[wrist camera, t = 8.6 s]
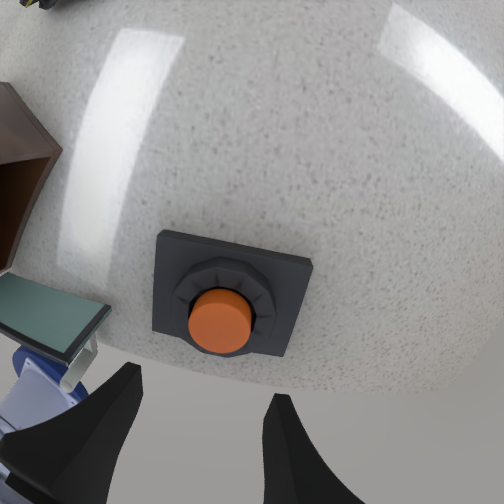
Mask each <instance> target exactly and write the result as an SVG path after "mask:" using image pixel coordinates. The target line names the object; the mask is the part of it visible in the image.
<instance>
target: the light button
mask: <svg viewBox="0 0 504 504" xmlns="http://www.w3.org/2000/svg"><path fill="white" fill-rule="evenodd" d="M188 327H189V332H190V334H191V336H192V338H193V339H194V341H195V342H196V343H197V344H198V345H200V346H201V347H203V348H204V349H206V350H209V351H212V352H216V353H229V352H233V351H236V350H238V349H240V348H241V347H242V346H243V345H244V344H245V343H246V342H247V341H248V339H249V336H250V331H251V310H250V307H249V305H248V303H247V302H246V300H245V299H244V298H243V297H242V296H240V295H239V294H237V293H235V292H233V291H231V290H227V289H214V290H210V291H207V292H205V293H204V294H202V295H201V296H200V297H199V298H198V299H197V301H196V303H195V305H194V308H193V310H192V313H191V315H190V318H189V322H188Z"/></svg>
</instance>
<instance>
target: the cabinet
mask: <svg viewBox="0 0 504 504" xmlns="http://www.w3.org/2000/svg"><path fill="white" fill-rule="evenodd" d="M61 152H62V148H61V147H60V146H59V145H58V144H57V143H56V141H55V140H54V139H53V138H52V137H51V136H50V134H49V133H48V132H47V131H46V130H45V128H44V127H43V126H42V125H41V123H40V122H39V121H38V120H37V119H36V117H35V116H34V115H33V114H32V112H31V111H30V110H29V109H28V107H27V106H26V105H25V103H24V102H23V101H22V100H21V98H20V97H19V96H18V94H17V93H16V92H15V90H14V89H13V88H12V86H11V85H10V84H9V83H7V82H0V274H1V273H2V272H4V271H5V270H7V269H9V268H10V267H11V265H12V261H13V258H14V255H15V252H16V249H17V246H18V244H19V241H20V238H21V235H22V233H23V230H24V228H25V225H26V223H27V220H28V218H29V215H30V213H31V211H32V208H33V206H34V204H35V202H36V200H37V197H38V195H39V193H40V191H41V189H42V187H43V185H44V183H45V181H46V179H47V177H48V175H49V173H50V171H51V170H52V168H53V166H54V164H55V162H56V161H57V159H58V157H59V155H60V154H61Z"/></svg>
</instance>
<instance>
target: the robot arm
mask: <svg viewBox="0 0 504 504" xmlns="http://www.w3.org/2000/svg"><path fill="white" fill-rule="evenodd" d="M142 397H143V386H142V374H141V366H140V365H137V364H134V363H131V362H127V363H125V364H124V365H123V366H122V367H121V368H120V369H119V370H118V371H117V372H116V373H115V374H114V375H113V376H112V377H111V378H110V379H108V380H107V381H106V382H105V383H104V384H102V385H101V386H100V387H99V388H98V389H96V390H95V391H94V392H93V393H91V394H90V395H89V396H87V397H86V398H85V399H83V400H82V401H80V402H78V400H77V399H76V398H75V397H73V396H72V395H71V394H70V393H65V392H63V391H62V390H61V388H60V385H59V384H58V383H57V382H56V381H55V380H53V379H52V378H51V377H50V376H49V375H48V374H47V373H46V372H45V371H44V370H43V369H42V368H41V367H40V366H39V365H37V364H36V363H35V362H34V361H33V360H32V359H31V358H30V357H27V358H26V360H25V363H24V366H23V369H22V372H21V375H20V378H19V379H18V380H17V381H16V383H15V384H14V385H13V387H12V388H11V389H10V390H9V391H8V393H7V394H6V395H5V397H4V398H3V399H2V401H1V402H0V504H106V502H107V497H108V492H109V488H110V483H111V480H112V476H113V472H114V468H115V465H116V461H117V458H118V455H119V453H120V450H121V447H122V445H123V443H124V441H125V439H126V437H127V434H128V432H129V430H130V428H131V426H132V424H133V421H134V419H135V417H136V415H137V412H138V409H139V406H140V403H141V400H142ZM262 444H263V462H264V478H265V490H264V503H263V504H365V503H364V502H363V501H361V500H360V499H359V498H358V497H356V496H355V495H354V494H353V493H352V492H351V491H350V490H349V489H348V488H347V487H346V486H345V485H344V484H343V483H342V482H341V481H340V480H339V479H338V478H337V477H336V476H335V474H334V473H333V472H332V471H331V470H330V468H329V467H328V466H327V465H326V463H325V462H324V461H323V459H322V458H321V456H320V455H319V453H318V452H317V450H316V448H315V447H314V445H313V444H312V442H311V441H310V439H309V437H308V435H307V433H306V431H305V429H304V427H303V425H302V423H301V421H300V419H299V417H298V415H297V412H296V410H295V408H294V405H293V403H292V400H291V398H290V396H289V395H287V394H277V393H275V394H274V396H273V399H272V401H271V403H270V406H269V408H268V410H267V413H266V415H265V417H264V422H263V435H262Z"/></svg>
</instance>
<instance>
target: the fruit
mask: <svg viewBox="0 0 504 504" xmlns="http://www.w3.org/2000/svg"><path fill="white" fill-rule="evenodd" d="M38 1H39V8H42V9H45V10H47V9H50V8H52V7H53V6H55V4H56V3H57V2H58V0H20V4H21V5H23V6H25V7H26V8H27V7H28V6H30V5H32V4H34V3H36V2H38Z"/></svg>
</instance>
